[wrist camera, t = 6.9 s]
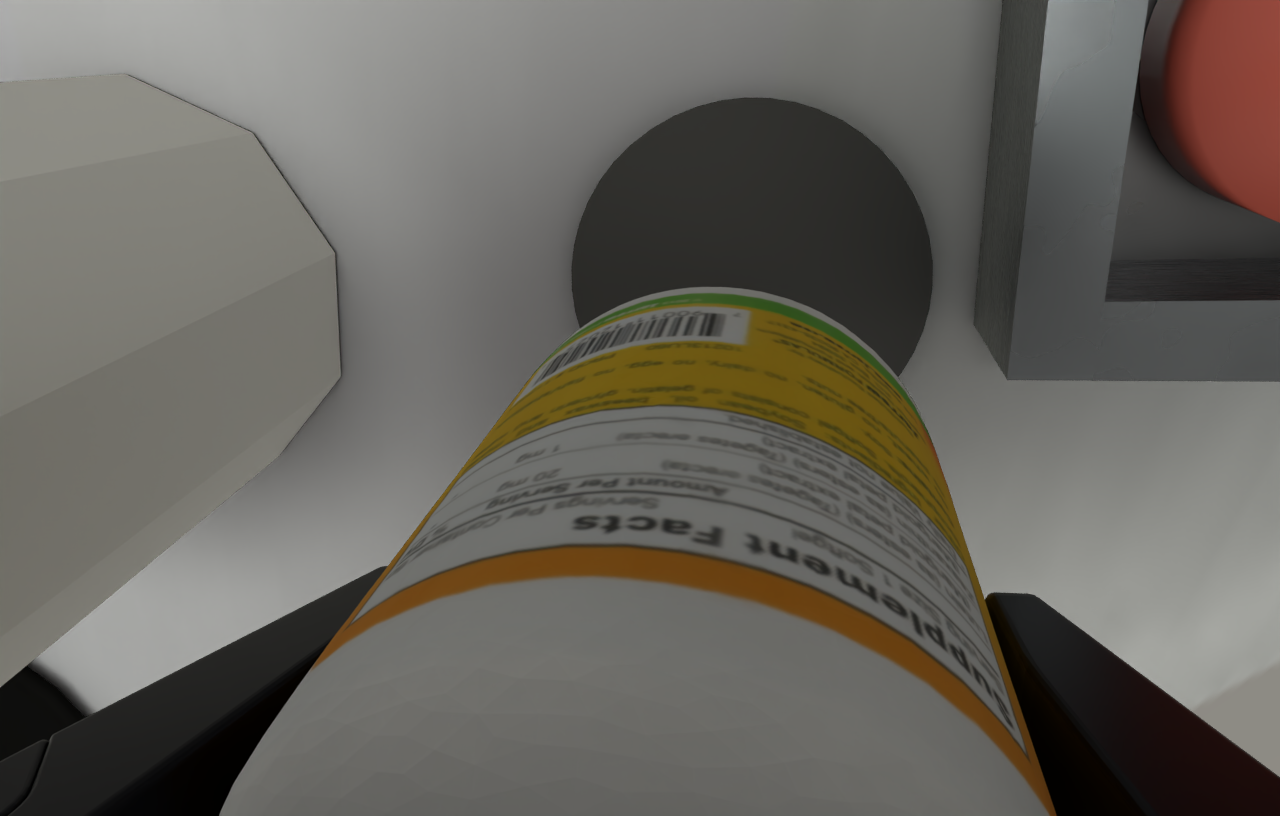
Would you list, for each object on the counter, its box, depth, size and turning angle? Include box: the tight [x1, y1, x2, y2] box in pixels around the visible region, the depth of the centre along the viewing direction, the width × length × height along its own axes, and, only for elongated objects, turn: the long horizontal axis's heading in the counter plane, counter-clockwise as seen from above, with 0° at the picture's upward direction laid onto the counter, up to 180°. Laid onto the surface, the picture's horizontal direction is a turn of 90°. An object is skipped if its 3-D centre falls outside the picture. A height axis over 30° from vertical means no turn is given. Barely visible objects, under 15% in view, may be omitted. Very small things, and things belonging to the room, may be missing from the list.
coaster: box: [572, 98, 933, 377], centre depth 20 cm, size 8×8×1 cm
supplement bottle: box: [219, 287, 1057, 816], centre depth 7 cm, size 5×5×10 cm
